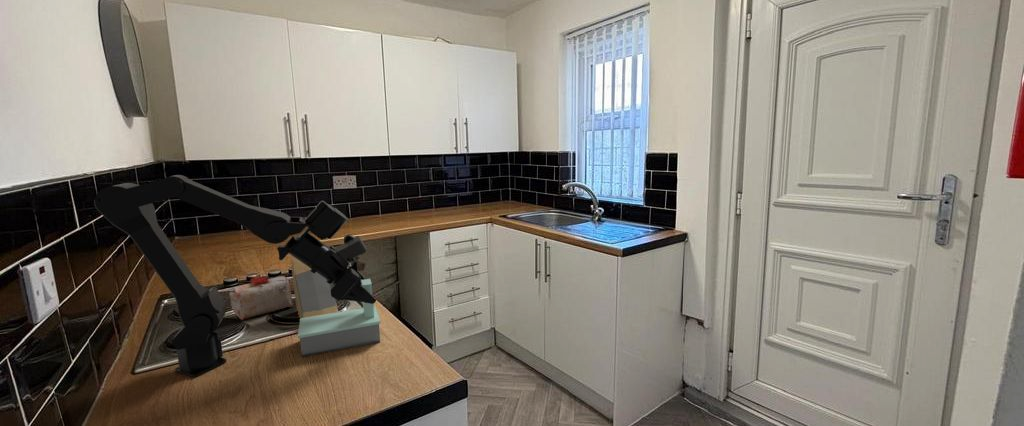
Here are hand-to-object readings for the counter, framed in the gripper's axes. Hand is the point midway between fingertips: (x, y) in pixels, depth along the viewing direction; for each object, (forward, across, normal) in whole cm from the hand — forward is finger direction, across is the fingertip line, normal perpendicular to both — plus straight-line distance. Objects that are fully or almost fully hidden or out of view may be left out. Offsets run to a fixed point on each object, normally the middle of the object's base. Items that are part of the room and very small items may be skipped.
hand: (372, 295), depth 98 cm
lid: (-1, 0, +10) cm, 10 cm away
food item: (-12, +28, +26) cm, 39 cm away
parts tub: (+2, 0, +12) cm, 12 cm away
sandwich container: (-2, +17, +16) cm, 23 cm away
